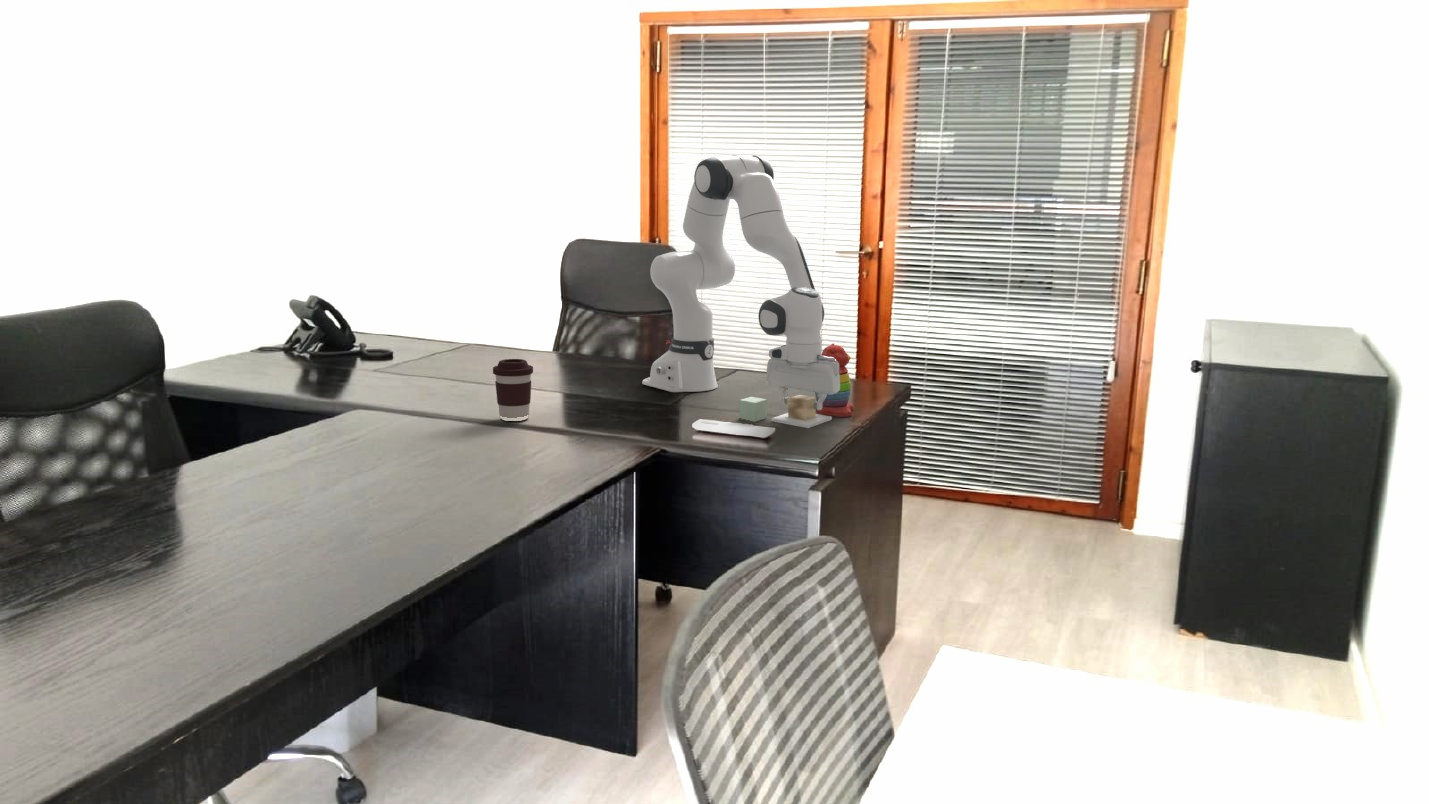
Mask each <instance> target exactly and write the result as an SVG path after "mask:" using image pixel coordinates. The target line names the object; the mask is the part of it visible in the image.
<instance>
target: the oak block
mask: <svg viewBox="0 0 1429 804" xmlns="http://www.w3.org/2000/svg"><path fill="white" fill-rule="evenodd" d="M789 397H790V398H789V400H788V405H787V407H788V408H787V409H788V410H787V413H788V417H789V418H794V419H800V420H807V419H810V418H813V417H816V414H817V412H816V410H815V409H814V403H815V402H817V401H816V396H810V395H804V394H798V395H797V394H796V395H795V396H789Z"/></svg>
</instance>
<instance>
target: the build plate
mask: <svg viewBox="0 0 1429 804" xmlns="http://www.w3.org/2000/svg"><path fill="white" fill-rule="evenodd" d="M832 420H833V416H827V415H822V414H819V413H816V417H813V418H810V419H807V420H800V419H794V418H789V417H788V412H786V413H783V414H780V415H777V416H774V417H772V418H771V422H773V423H774V422H775V423H778V424H785V425H789V426H795V427H801V428H806V429H810V428H813V427H816V426H819V425H821V424H824V423H827V422H829V421H832Z"/></svg>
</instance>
